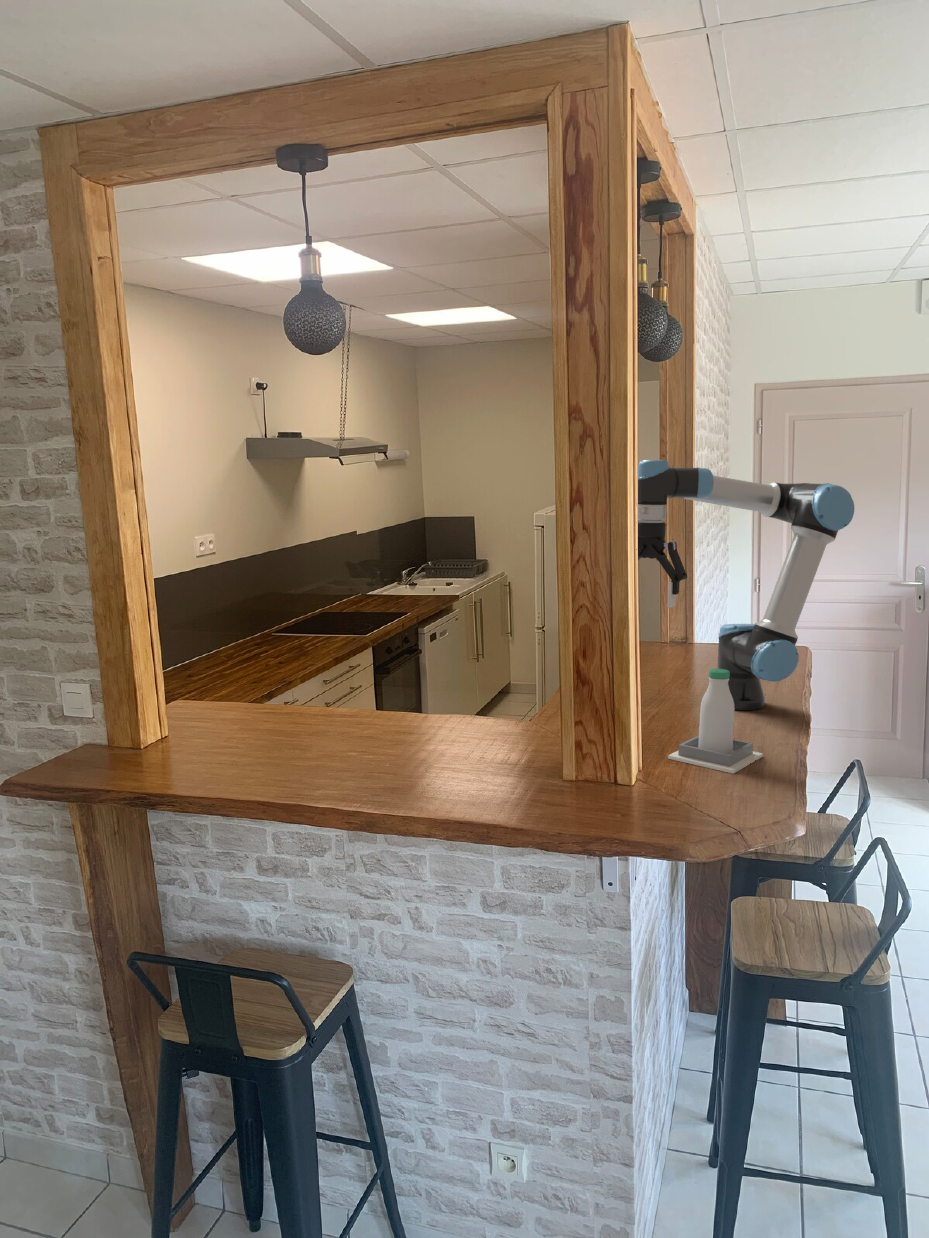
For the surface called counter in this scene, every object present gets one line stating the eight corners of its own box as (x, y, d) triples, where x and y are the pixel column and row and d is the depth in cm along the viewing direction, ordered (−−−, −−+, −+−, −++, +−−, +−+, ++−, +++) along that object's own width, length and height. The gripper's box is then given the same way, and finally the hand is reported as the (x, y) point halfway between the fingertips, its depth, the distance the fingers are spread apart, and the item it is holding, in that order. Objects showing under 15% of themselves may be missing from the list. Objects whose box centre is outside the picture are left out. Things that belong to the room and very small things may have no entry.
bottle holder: (699, 743, 228) (699, 730, 227) (762, 756, 217) (763, 743, 217) (667, 758, 215) (668, 744, 215) (733, 773, 205) (734, 759, 205)
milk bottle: (733, 760, 212) (738, 674, 209) (698, 758, 213) (703, 673, 210) (730, 750, 219) (735, 667, 216) (697, 748, 221) (701, 665, 218)
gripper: (600, 519, 240) (598, 600, 244) (689, 524, 224) (685, 611, 228) (615, 518, 246) (613, 597, 249) (703, 523, 230) (698, 607, 234)
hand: (647, 604), depth 239 cm, fingers open, 13 cm apart
